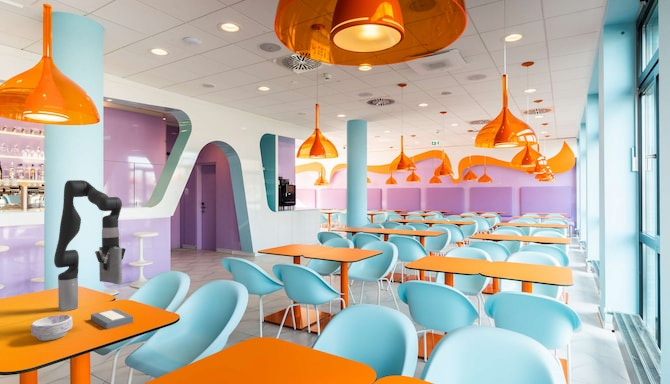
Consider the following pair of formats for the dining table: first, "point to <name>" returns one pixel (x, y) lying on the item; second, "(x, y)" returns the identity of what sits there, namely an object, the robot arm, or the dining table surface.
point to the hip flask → (112, 266)
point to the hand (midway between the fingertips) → (110, 269)
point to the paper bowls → (51, 327)
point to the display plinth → (111, 318)
